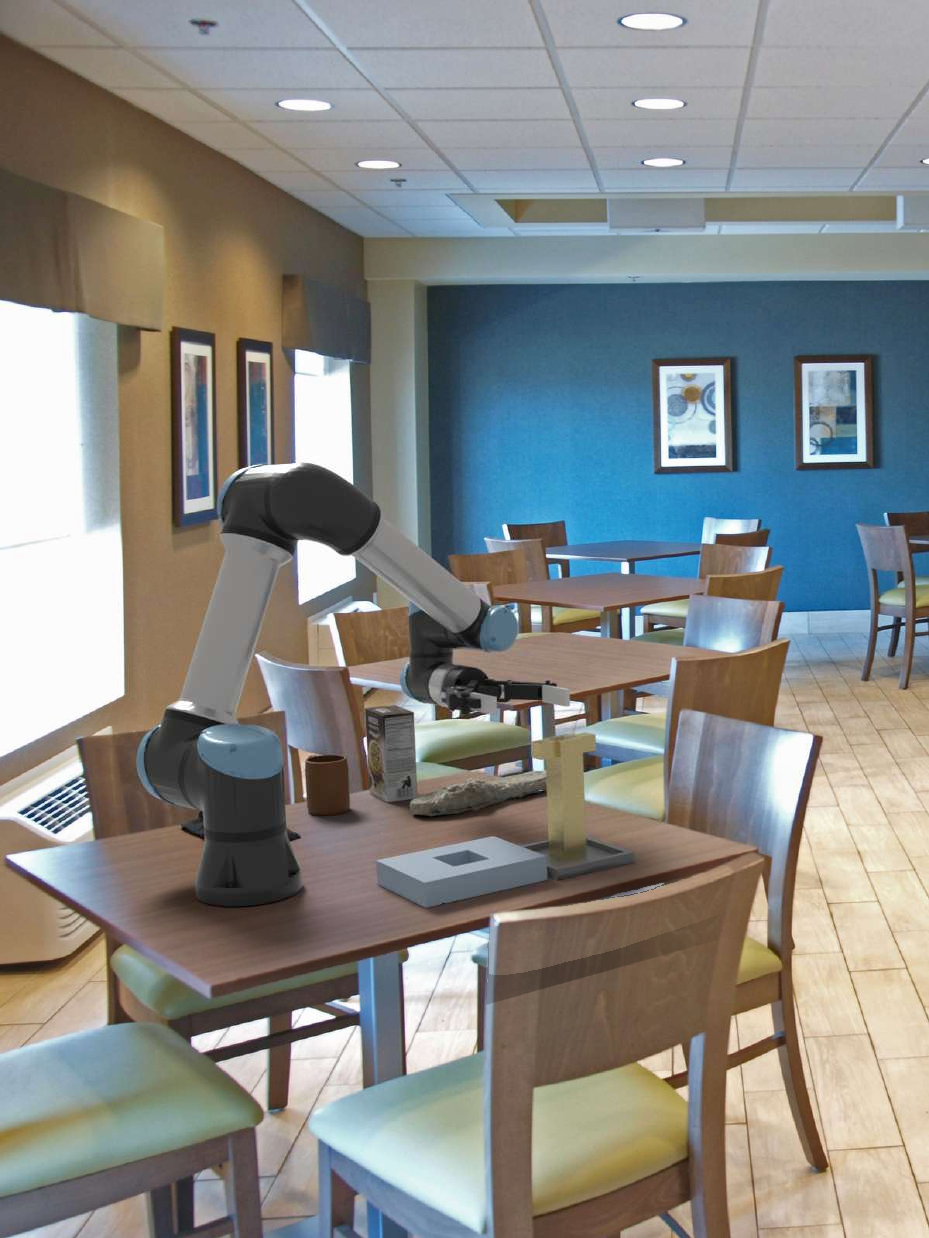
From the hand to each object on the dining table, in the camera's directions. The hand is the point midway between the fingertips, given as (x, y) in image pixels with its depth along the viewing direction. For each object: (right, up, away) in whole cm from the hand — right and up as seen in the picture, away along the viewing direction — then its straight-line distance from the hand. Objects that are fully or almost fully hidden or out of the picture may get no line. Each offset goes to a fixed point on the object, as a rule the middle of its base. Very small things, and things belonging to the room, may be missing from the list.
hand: (532, 701), depth 212 cm
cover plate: (-11, -25, -15) cm, 31 cm away
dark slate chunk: (-48, -24, +19) cm, 57 cm away
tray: (+5, -23, -7) cm, 25 cm away
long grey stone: (-6, -20, +34) cm, 40 cm away
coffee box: (-24, -20, +40) cm, 51 cm away
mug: (-35, -21, +33) cm, 53 cm away
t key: (+5, -23, -7) cm, 24 cm away
